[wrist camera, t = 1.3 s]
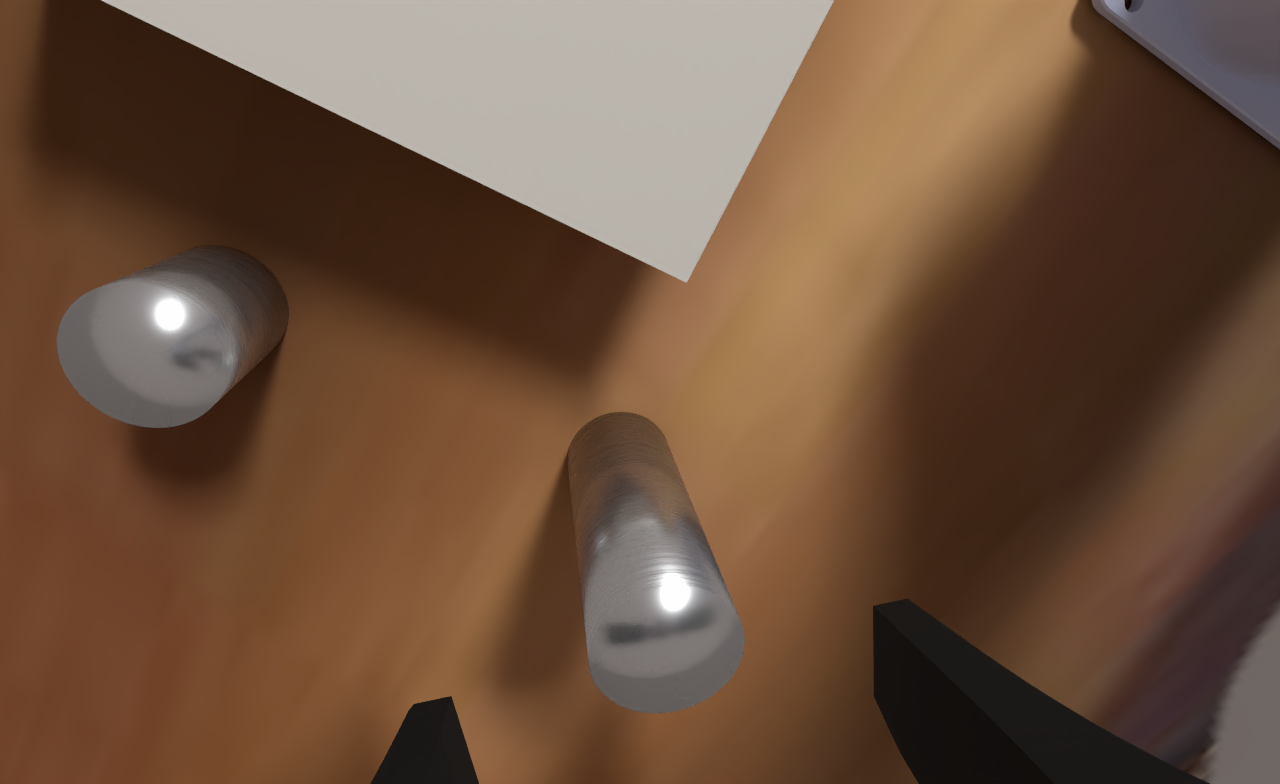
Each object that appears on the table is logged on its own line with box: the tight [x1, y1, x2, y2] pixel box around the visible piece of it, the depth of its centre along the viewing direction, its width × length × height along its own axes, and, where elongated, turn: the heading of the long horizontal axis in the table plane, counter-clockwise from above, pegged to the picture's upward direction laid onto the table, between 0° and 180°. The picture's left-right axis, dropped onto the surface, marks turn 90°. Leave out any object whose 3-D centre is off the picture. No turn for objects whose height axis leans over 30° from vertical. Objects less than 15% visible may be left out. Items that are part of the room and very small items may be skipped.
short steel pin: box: [57, 245, 289, 428], centre depth 16 cm, size 3×3×4 cm
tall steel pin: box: [567, 412, 745, 713], centre depth 17 cm, size 3×3×8 cm
